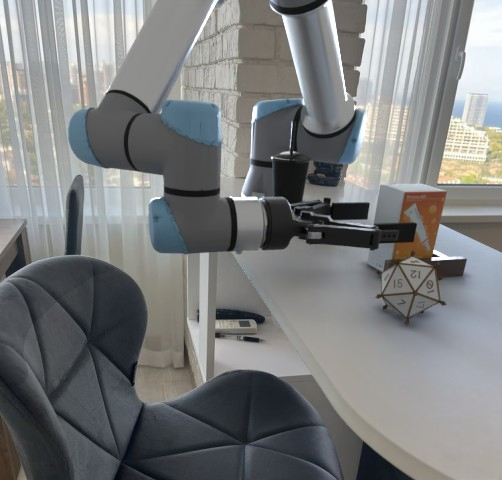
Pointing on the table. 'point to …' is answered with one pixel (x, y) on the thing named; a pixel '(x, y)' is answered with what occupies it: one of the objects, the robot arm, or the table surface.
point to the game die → (410, 286)
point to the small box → (408, 220)
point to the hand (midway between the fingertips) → (389, 220)
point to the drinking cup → (290, 173)
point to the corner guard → (447, 264)
